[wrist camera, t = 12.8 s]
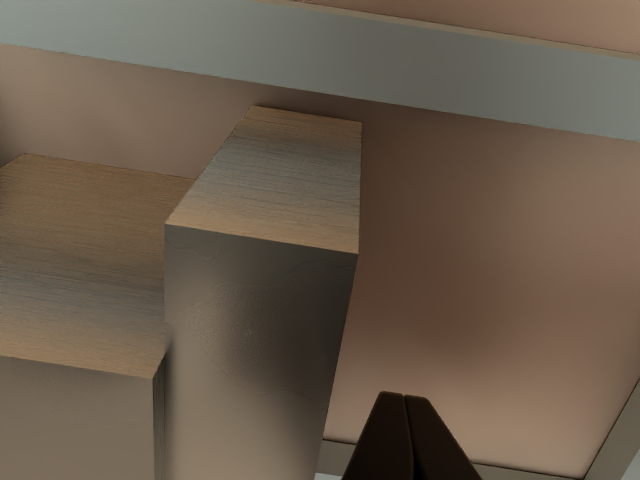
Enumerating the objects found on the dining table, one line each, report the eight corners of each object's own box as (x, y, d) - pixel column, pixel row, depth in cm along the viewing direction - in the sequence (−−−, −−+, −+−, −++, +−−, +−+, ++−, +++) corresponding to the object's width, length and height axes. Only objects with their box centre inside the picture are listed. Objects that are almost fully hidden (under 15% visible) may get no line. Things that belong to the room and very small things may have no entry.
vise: (866, 89, 9) (1346, 221, 5) (603, 515, 14) (708, 763, 10) (-211, -77, 9) (-760, -105, 5) (-69, 410, 14) (-258, 611, 10)
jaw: (361, 122, 10) (358, 253, 5) (308, 427, 13) (281, 645, 9) (252, 105, 10) (163, 223, 5) (228, 414, 13) (165, 627, 9)
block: (26, 152, 11) (-251, 316, 6) (248, 186, 11) (152, 378, 6) (50, 329, 13) (-140, 556, 8) (234, 358, 13) (156, 601, 8)
